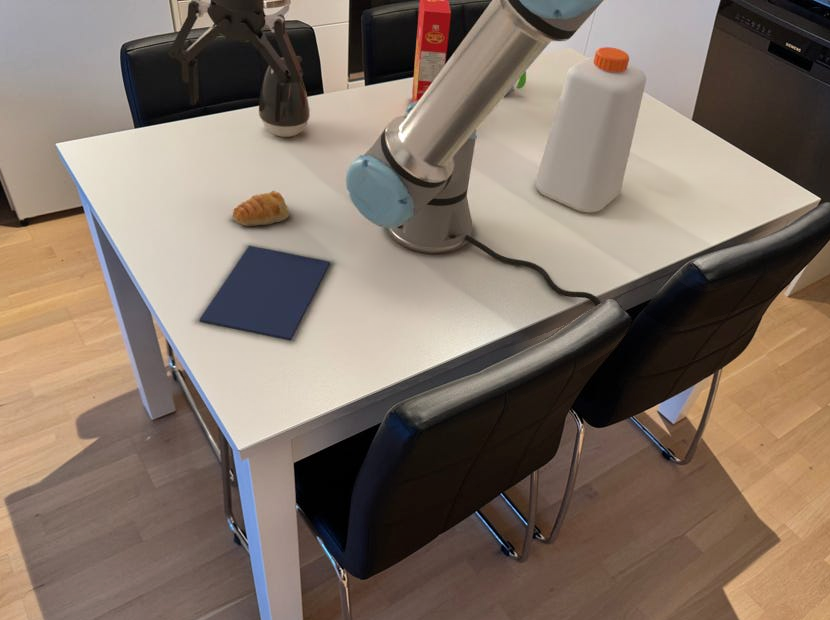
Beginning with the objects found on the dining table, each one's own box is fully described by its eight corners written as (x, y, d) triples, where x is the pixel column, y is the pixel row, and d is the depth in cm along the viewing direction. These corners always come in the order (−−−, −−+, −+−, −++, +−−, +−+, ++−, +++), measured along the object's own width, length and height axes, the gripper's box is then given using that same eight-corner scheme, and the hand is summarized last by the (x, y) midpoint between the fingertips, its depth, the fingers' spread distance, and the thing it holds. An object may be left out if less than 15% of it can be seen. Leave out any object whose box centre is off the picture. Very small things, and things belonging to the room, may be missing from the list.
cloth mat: (329, 263, 124) (329, 261, 123) (290, 340, 109) (290, 338, 109) (249, 247, 124) (249, 245, 124) (199, 321, 110) (199, 319, 109)
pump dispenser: (320, 131, 157) (320, 59, 146) (287, 148, 150) (284, 74, 139) (283, 115, 160) (280, 43, 150) (249, 131, 153) (244, 57, 143)
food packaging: (411, 100, 172) (421, -14, 155) (434, 102, 173) (445, -12, 156) (413, 129, 162) (424, 10, 145) (437, 131, 162) (450, 13, 145)
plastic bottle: (562, 164, 158) (595, 30, 139) (625, 191, 152) (668, 55, 133) (526, 190, 148) (555, 50, 129) (592, 220, 143) (633, 78, 124)
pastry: (244, 233, 127) (242, 214, 124) (225, 215, 130) (223, 196, 128) (292, 219, 132) (291, 200, 129) (273, 201, 135) (272, 183, 133)
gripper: (327, -16, 111) (315, 113, 126) (155, -54, 107) (164, 83, 122) (320, 3, 106) (309, 135, 121) (139, -36, 102) (151, 105, 117)
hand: (236, 109), depth 122 cm, fingers open, 13 cm apart
